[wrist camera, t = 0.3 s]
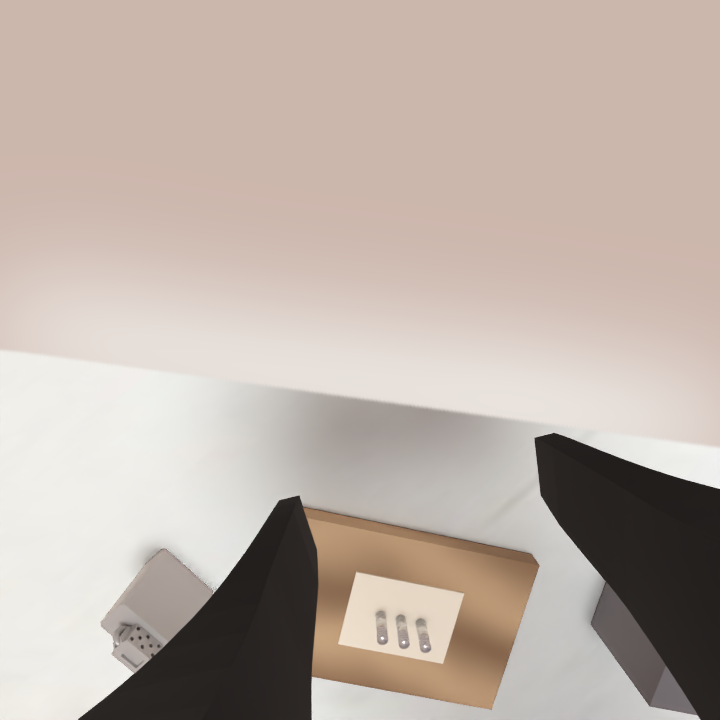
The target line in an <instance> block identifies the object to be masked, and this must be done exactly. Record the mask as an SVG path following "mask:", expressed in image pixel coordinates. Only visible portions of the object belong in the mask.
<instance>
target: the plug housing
mask: <svg viewBox="0 0 720 720" xmlns="http://www.w3.org/2000/svg"><path fill="white" fill-rule="evenodd" d="M591 625H592V627H593V628H594V630H595V631H596V632H597V634H598V635H599V637H600V638H601V639H602V641H603V642H604V643H605V645H606V646H607V648H608V649H609V650H610V652H611V653H612V655H613V656H614V657H615V659H616V660H617V662H618V663H619V664H620V666H621V667H622V669H623V670H624V671H625V673H626V674H627V675H628V677H629V678H630V680H631V681H632V682H633V684H634V685H635V687H636V688H637V689H638V691H639V692H640V694H641V695H642V696H643V698H644V699H645V701H646V702H647V703H648V705H649V706H651V707H656V708H662V709H667V710H672V711H678V712H683V713H688V714H693V715H697V713H696V711H695V710H694V708H693V707H692V705H691V703H690V702H689V700H688V699H687V697H686V696H685V694H684V692H683V691H682V689H681V688H680V686H679V685H678V683H677V682H676V680H675V679H674V677H673V676H672V674H671V672H670V671H669V669H668V668H667V666H666V665H665V663H664V662H663V660H662V659H661V657H660V656H659V654H658V653H657V651H656V650H655V648H654V647H653V645H652V644H651V642H650V641H649V639H648V638H647V636H646V635H645V633H644V632H643V631H642V629H641V628H640V626H639V625H638V623H637V622H636V620H635V619H634V617H633V616H632V615H631V613H630V612H629V610H628V609H627V607H626V606H625V605H624V604H623V602H622V601H621V600H620V598H619V597H618V596H617V594H616V593H615V592H614V591H613V589H612V588H611V587H610V586H609V585H608V583H607V582H606V584H605V587H604V590H603V592H602V595H601V598H600V601H599V603H598V606H597V609H596V612H595V614H594V617H593V620H592V623H591Z"/></svg>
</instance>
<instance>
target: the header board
mask: <svg viewBox="0 0 720 720" xmlns="http://www.w3.org/2000/svg"><path fill="white" fill-rule="evenodd" d="M303 509H304V512H305V515H306V518H307V521H308V524H309V527H310V530H311V533H312V536H313V539H314V542H315V545H316V548H317V557H318V583H319V584H318V598H317V612H316V624H315V637H314V649H313V661H312V677H317V678H322V679H328V680H333V681H338V682H344V683H349V684H355V685H360V686H366V687H371V688H377V689H382V690H387V691H393V692H398V693H404V694H409V695H415V696H420V697H425V698H431V699H436V700H442V701H447V702H453V703H458V704H463V705H469V706H474V707H480V708H485V709H491V710H492V707H493V704H494V701H495V698H496V695H497V692H498V689H499V686H500V683H501V680H502V677H503V674H504V671H505V668H506V665H507V662H508V659H509V656H510V653H511V650H512V647H513V644H514V640H515V637H516V634H517V631H518V628H519V625H520V622H521V619H522V616H523V613H524V610H525V607H526V604H527V601H528V598H529V595H530V592H531V589H532V586H533V583H534V580H535V577H536V574H537V571H538V568H539V564H538V563H537V561H536V560H535V558H534V557H533V555H532V554H528V553H523V552H518V551H513V550H509V549H504V548H499V547H494V546H489V545H484V544H479V543H475V542H470V541H465V540H460V539H455V538H450V537H445V536H440V535H436V534H431V533H426V532H421V531H416V530H411V529H406V528H401V527H397V526H392V525H387V524H382V523H377V522H372V521H367V520H362V519H358V518H353V517H348V516H343V515H338V514H333V513H328V512H323V511H319V510H314V509H309V508H304V507H303Z"/></svg>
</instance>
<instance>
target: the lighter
mask: <svg viewBox="0 0 720 720" xmlns="http://www.w3.org/2000/svg"><path fill="white" fill-rule="evenodd" d="M212 595H213V591H212V590H211V589H210V588H209V587H208V586H207V585H205V584H204V583H203V582H202V581H201V580H200V579H199V578H198V577H197V576H195V575H194V574H193V573H192V572H191V571H190V570H189V569H188V568H186V567H185V566H184V565H183V564H182V563H181V562H180V561H179V560H177V559H176V558H175V557H174V556H173V555H172V554H171V553H170V552H169V551H167V550H166V549H161V550H160V551H159V552H158V553H157V554H156V555H155V556H154V557H153V558H152V559H150V560H149V561H148V562H147V563H146V564H145V565H144V567H143V568H142V569H141V571H140V572H139V573H138V575H137V576H136V577H135V578H134V580H133V581H132V582H131V584H130V585H129V586H128V587H127V589H126V590H125V591H124V593H123V594H122V595H121V596H120V598H119V599H118V600H117V602H116V603H115V604H114V606H113V607H112V608H111V609H110V611H109V612H108V613H107V615H106V616H105V617H104V618H103V620H102V621H101V627H102V628H104V629H105V630H106V631H107V632H108V633H110V634H111V635H112V636H113V641H114V643H113V645H114V651H113V652H112V655H113V656H114V657H115V658H117V659H118V660H119V661H120V662H121V663H123V664H124V665H125V666H126V667H128V668H129V669H130V670H131V671H132V672H134V673H136V672H137V671H138V670H139V669H140V668H141V667H142V666H143V665H145V664H146V663H147V662H148V661H149V660H150V659H151V658H152V657H153V656H154V655H156V654H157V653H158V652H159V651H160V650H161V649H162V648H163V647H164V646H165V645H166V644H167V643H168V642H169V641H170V640H171V639H172V638H173V637H174V636H175V635H176V634H177V633H178V632H179V631H180V630H181V629H182V628H183V627H184V626H185V625H186V624H187V623H188V622H189V621H190V620H191V619H192V618H193V617H194V615H195V614H196V613H197V612H198V611H199V610H200V609H201V608H202V607H203V605H204V604H205V603H206V602H207V601H208V600H209V599H210V597H211V596H212Z"/></svg>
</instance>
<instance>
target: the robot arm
mask: <svg viewBox="0 0 720 720" xmlns="http://www.w3.org/2000/svg"><path fill="white" fill-rule="evenodd" d="M535 447H536V456H537V465H538V474H539V483H540V492H541V496H542V498H543V499H544V501H545V503H546V504H547V506H548V508H549V509H550V511H551V512H552V514H553V516H554V517H555V519H556V520H557V522H558V523H559V525H560V526H561V527H562V529H563V530H564V531H565V532H566V534H567V535H568V536H569V537H570V538H571V540H572V541H573V542H574V543H575V545H576V546H577V547H578V548H579V549H580V551H581V552H582V553H583V554H584V556H585V557H586V558H587V559H588V560H589V562H590V563H591V564H592V565H593V566H594V568H595V569H596V570H597V571H598V572H599V574H600V575H601V576H602V577H603V579H604V580H605V581H606V582H607V583H608V585H609V586H610V587H611V588H612V589H613V591H614V592H615V593H616V594H617V596H618V597H619V598H620V600H621V601H622V602H623V604H624V605H625V606H626V607H627V609H628V610H629V612H630V613H631V615H632V616H633V617H634V619H635V620H636V622H637V623H638V625H639V626H640V628H641V629H642V631H643V632H644V633H645V635H646V636H647V638H648V639H649V641H650V642H651V644H652V645H653V647H654V648H655V650H656V651H657V653H658V654H659V656H660V657H661V659H662V660H663V662H664V663H665V665H666V666H667V668H668V669H669V671H670V672H671V674H672V676H673V677H674V679H675V680H676V682H677V683H678V685H679V686H680V688H681V689H682V691H683V692H684V694H685V696H686V697H687V699H688V700H689V702H690V703H691V705H692V707H693V708H694V710H695V711H696V713H697V715H698V716H699V718H700V719H701V720H720V489H717V488H713V487H710V486H706V485H702V484H699V483H695V482H691V481H687V480H684V479H680V478H677V477H674V476H670V475H667V474H664V473H661V472H658V471H655V470H652V469H649V468H646V467H643V466H640V465H638V464H635V463H632V462H629V461H626V460H624V459H621V458H618V457H616V456H613V455H611V454H608V453H605V452H603V451H600V450H598V449H595V448H593V447H590V446H588V445H585V444H583V443H580V442H578V441H575V440H573V439H570V438H567V437H565V436H562V435H559V434H556V433H552V434H548V435H544V436H540V437H536V438H535ZM318 584H319V583H318V557H317V548H316V545H315V542H314V539H313V536H312V533H311V530H310V527H309V524H308V521H307V518H306V515H305V512H304V509H303V506H302V503H301V500H300V496H295V497H291V498H287V499H283V500H279V502H278V503H277V505H276V506H275V508H274V509H273V511H272V512H271V514H270V515H269V517H268V519H267V520H266V522H265V523H264V525H263V526H262V528H261V530H260V531H259V533H258V534H257V536H256V537H255V539H254V540H253V542H252V543H251V545H250V546H249V548H248V549H247V551H246V552H245V554H244V555H243V556H242V558H241V559H240V560H239V562H238V563H237V564H236V566H235V567H234V568H233V570H232V571H231V572H230V574H229V575H228V577H227V578H226V579H225V580H224V582H223V583H222V584H221V585H220V587H219V588H218V589H217V590H216V592H215V593H214V594H213V595H212V596H211V597H210V599H209V600H208V601H207V602H206V603H205V604H204V605H203V607H202V608H201V609H200V610H199V611H198V612H197V613H196V614H195V615H194V617H193V618H192V619H191V620H190V621H189V622H188V623H187V624H186V625H185V626H184V627H183V628H182V629H181V630H180V631H179V632H178V633H177V634H176V635H175V636H174V637H173V638H172V639H171V640H170V641H169V642H168V643H167V644H166V645H165V646H164V647H163V648H162V649H161V650H160V651H159V652H158V653H157V654H156V655H154V656H153V657H152V658H151V659H150V660H149V661H148V662H147V663H146V664H145V665H143V666H142V667H141V668H140V669H139V670H138V671H137V672H136V673H134V674H133V675H132V676H131V677H130V678H129V679H127V680H126V681H125V682H124V683H123V684H122V685H121V686H119V687H118V688H117V689H116V690H114V691H113V692H112V693H111V694H110V695H108V696H107V697H106V698H105V699H103V700H102V701H101V702H100V703H98V704H97V705H96V706H94V707H93V708H92V709H91V710H89V711H88V712H87V713H85V714H84V715H83V716H82V717H80V718H79V719H78V720H312V718H311V680H312V661H313V649H314V637H315V624H316V612H317V598H318Z"/></svg>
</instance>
